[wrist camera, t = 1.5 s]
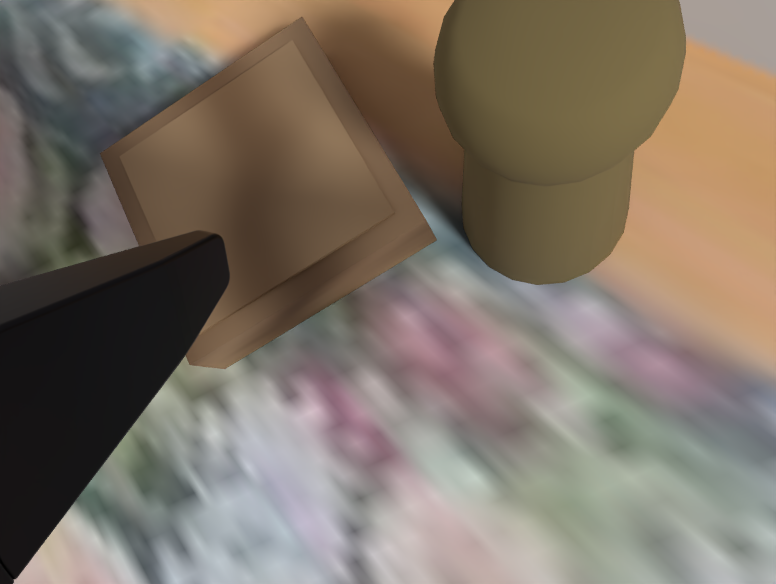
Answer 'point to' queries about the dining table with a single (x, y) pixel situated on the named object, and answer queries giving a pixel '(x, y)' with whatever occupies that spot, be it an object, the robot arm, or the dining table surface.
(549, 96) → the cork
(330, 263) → the walnut plinth
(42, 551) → the dining table surface
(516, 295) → the dining table surface
